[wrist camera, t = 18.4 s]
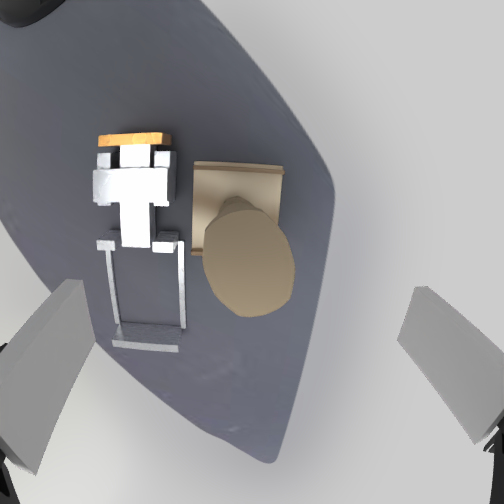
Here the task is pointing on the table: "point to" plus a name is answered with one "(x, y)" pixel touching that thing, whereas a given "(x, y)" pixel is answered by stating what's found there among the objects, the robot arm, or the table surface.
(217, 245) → the handle
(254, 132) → the table surface
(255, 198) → the tan base plate
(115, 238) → the silver rectangular frame
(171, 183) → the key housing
